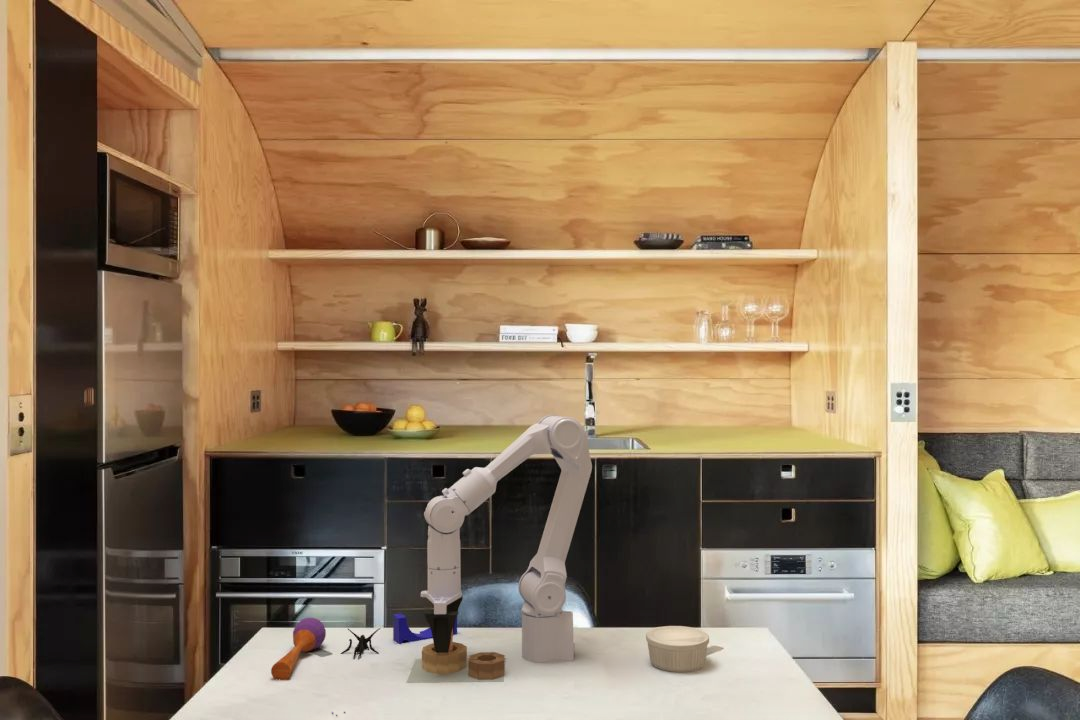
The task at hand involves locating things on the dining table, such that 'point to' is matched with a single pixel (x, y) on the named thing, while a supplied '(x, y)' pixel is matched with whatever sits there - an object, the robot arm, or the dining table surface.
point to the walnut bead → (486, 665)
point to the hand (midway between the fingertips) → (444, 645)
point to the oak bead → (444, 659)
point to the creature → (361, 644)
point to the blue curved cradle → (404, 633)
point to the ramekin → (677, 648)
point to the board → (442, 675)
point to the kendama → (300, 646)
